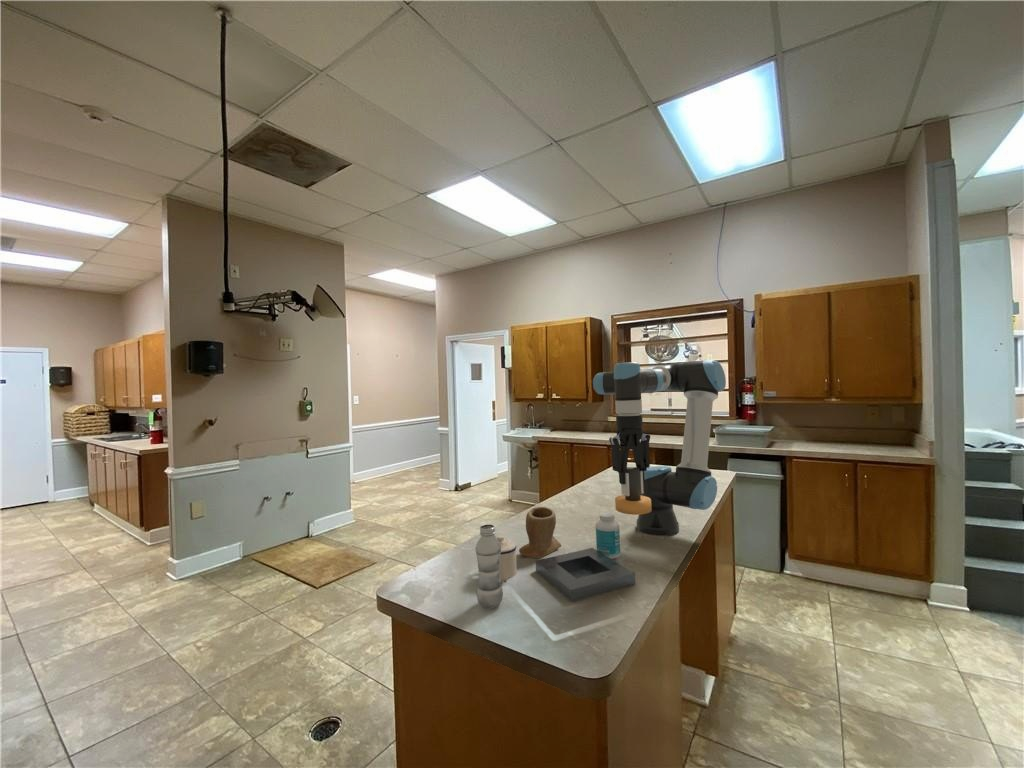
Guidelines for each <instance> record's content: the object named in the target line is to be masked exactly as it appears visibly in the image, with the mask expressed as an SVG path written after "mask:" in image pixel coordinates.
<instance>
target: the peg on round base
mask: <svg viewBox="0 0 1024 768" xmlns="http://www.w3.org/2000/svg"><path fill="white" fill-rule="evenodd" d="M626 473H629V492H630V496H626V495H623V494H621V495H618V496H616V497H615V498H614V503H615V505H614V506H615V507H614V508H615V511H617V512H618V513H621V514H624V515H625V514H626V515H637V516H639V515H640V514H647V513H650V512H651V511H652V508H651V499H650V498H649V497H646V496H641V495H640V474H639V468H636V466H630V467H629V466H627V470H626Z"/></svg>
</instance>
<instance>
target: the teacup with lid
mask: <svg viewBox="0 0 1024 768" xmlns="http://www.w3.org/2000/svg"><path fill="white" fill-rule="evenodd" d="M496 538H497V539H498V541H499V542H500V545H501V554H500V580H501V583H507V581H508V579H511V578H514V577H515V576H516V575H517V571H518V569H517V550H516V549H517V545H516V543H515V542H514V541H513V540H510V539H507V538H505V537H504V536H503V535H498V536H496Z"/></svg>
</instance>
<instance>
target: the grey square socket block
mask: <svg viewBox="0 0 1024 768" xmlns="http://www.w3.org/2000/svg"><path fill="white" fill-rule="evenodd" d="M535 572H536V573H538V574H539V575H540V576H541V577H542V578H543V580H546V581H547V582H548V583H549V584H550V585H551V586H552V587H553V588H554V589H556V590H557V591H558V592H559V593H561V595H562V596H563V597H565V599H567V600H568V601H569V602H570V603H574V602H577V601H581V600H584V599H588V598H591V597H594V596H597V595H599V596H600V595H601V594H606V593H609V592H612V591H615V590H619V589H623V588H627V587H631V586H635V585H636V573H635V572H634V571H632V570H631V569H629V568H627V567H626V566H624V565H622V564H620V563H619V562H617V561H616V560H614V559H611V558H609V557H607V556H605V555H604V554H602V553H600V552H599V551H597V549H595V548H593V547H590V548H586V549H582V550H581V549H580V550H576V551H573V552H568V553H564V554H559V555H556V556H550V557H546V558H542V559H538V560H535Z"/></svg>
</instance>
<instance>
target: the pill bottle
mask: <svg viewBox="0 0 1024 768" xmlns="http://www.w3.org/2000/svg"><path fill="white" fill-rule="evenodd" d="M615 517H616V516H615V514H614V513H612V512H601V513H599V520H598V521H596V522H595V541H596V550H597V551H599V552H600V553H602V554H604V555H605V556H607V557H609V558H611V559H612V560H614V559H617V558H620V557H621V539H620V538H621V534H620V524H619V523H618V521H616V520H615Z"/></svg>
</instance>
